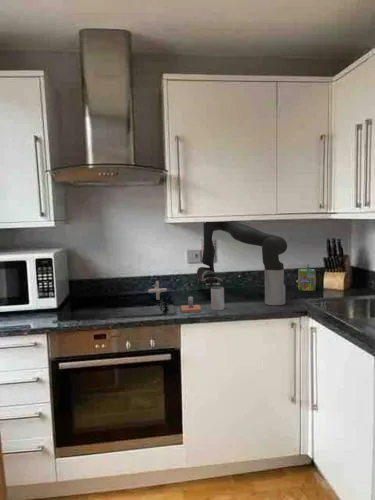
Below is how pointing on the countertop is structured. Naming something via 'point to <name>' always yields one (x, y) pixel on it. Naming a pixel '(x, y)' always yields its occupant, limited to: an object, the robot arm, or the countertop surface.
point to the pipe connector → (157, 290)
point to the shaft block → (190, 306)
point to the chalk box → (307, 279)
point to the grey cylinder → (217, 298)
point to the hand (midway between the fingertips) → (213, 283)
